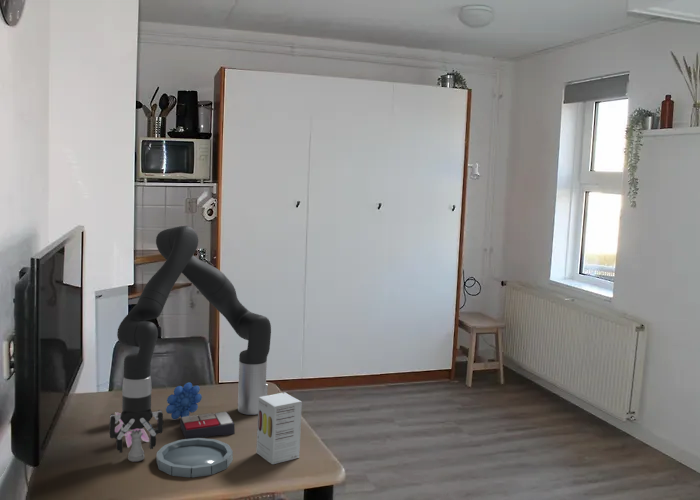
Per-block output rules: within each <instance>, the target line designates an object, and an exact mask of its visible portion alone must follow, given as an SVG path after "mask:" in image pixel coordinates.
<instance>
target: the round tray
mask: <svg viewBox="0 0 700 500" xmlns="http://www.w3.org/2000/svg"><path fill="white" fill-rule="evenodd" d="M233 456H234V451H233V449H232V447H231V446H230V444H228V443H226V442H224V441H221V440H218V439H215V438H214V439H213V438H207V437H202V438H192V439H185V438H184V439H183V438H182V439H178V440H174V441H172V442H169V443H166V444H164V445H162V447H161V448H160V449H159V450H158V451H157V452H156V465H157V468H158V470H159V471H161V472H163V473H165V474H168V475H170V476H173V477H179V478H180V477H183V478H199V477H206V476H212V475H214V474H215V475H216V474H217V473H220V472H222V471H225V470H227V469H228V468H229V466H231V464H232V462H233V461H234V460H233Z"/></svg>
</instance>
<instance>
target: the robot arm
mask: <svg viewBox="0 0 700 500" xmlns="http://www.w3.org/2000/svg"><path fill="white" fill-rule="evenodd" d="M155 237H156V238H155V244H156V247H157V251H158V252H159V254H160V255H161V257H163V258H164V259H165V262H164V263H163V264H162V266H161V267H160V268H159V269H158V270H157V271H156V272H155V273H154V274H153V275H152V277H151V278H150V279H149V280H148V281H147V282H146V283H145V285H144V288H143V290H142V292H141V294H140V296H139V298H138V300H137V303H136V304H135V305H134V306H133V308H131V310H130V311H129V312H128V313H127V314H126V315H125V317H124V318H123V319H122V321H121V322H120V324H119V326H118V328H117V332H116V335H117V336H116V337H117V341H118V342H119V343H120V344H121V345H124V346H130V347H139V350H138V352H137V353H135V352H134V353H131V354H127V355H126V356H125V357H124V360H123V380H122V391H121V392H122V394H121V395H122V402H121V403H122V405H121V409H122V410H121V412H120V413H121V415H116V414H115V413H111V414H110V415H109V431H108V432H109V437H110V439H115V440H116V450H117V451H118V452H119V453H120V454H121V453H123V437H124V436H123V435H124V434H125V433H126V432H127V431H128V429H131V430H134V429H146V430H147V432H149V448H150V450H153V449H154V448H155V447H156V445H157V435H158V434H162V433H163V432H164V429H163V427H164V423H163V422H164V418H163V417H164V416H163V415H164V413H163V411H162V409H158V410H156V411H152V390H153V389H152V379H151V377H152V376H151V370H152V369H151V368H152V365H151V363H152V359H153V355H154V351H155V347H156V345H157V342H158V341H157V340H158V337H159V331H158V328H157V325H156V324H155V323H154V322H152V321H149V320H155V319H158V318H159V317H160V315H161V314H162V312H163V310H164V308H165V305H166V302H167V300H168V298H169V296H170V294H171V292H172V289H173V288H174V286H175V284H176V282H177V281H178V279H179V278H180V276H181V274H182V275H183V276H184V277H185V278H186V279H187V280H189V282H190V283H191V284H192V285H193V286H194V287H195V288H196V289H197V290H198V291H199V292H200V294H201V295H203V297H204V298H205V299H206V300H207V301H208V302H209V303H210V304H211V305H212V306H213V307H214V308H215V309H216V310H217V312H219V313H220V314H221V315H222V316H223V317H224V318H225V319H226V321H227V322H228V323H229V325H230V326H231V327H232V329H233V330H234V333H236V335H238V336H239V337H240V338H241V339H244V340H247V348H246V349H245V350H242V351H240V353H239V355H238V356H239V360H238V362H239V363H238V387H237V391H238V392H237V393H238V394H237V396H238V397H237V412H238V413H240V414H244V415H249V416H251V415H253V416H254V415H255V416H256V415H258V401H259V397H262V396H267V395H268V387H269V386H268V383H267V368H268V367H267V366H268V363H267V361H268V356H269V353H270V348H271V338H272V325H271V324H272V323H271V321H270V320H269V318H268V317H267V316H264V315H261V314H258V313H255V312H252V311H250V310H248V309H247V307H245V305H243V304H242V302H240V300H239V298H238V296H237V292H236V288H235V287H234V285H233V283H232V282H231V280H230V279H229V278H228V277H227V276H226V275H225V274H224V273H223V272H222V271H221V270H220V269H218V268H217V267H215V266H213V265H211V264H209V263H208V262H205V261H203V260H201V259H199V258H198V257H196V256H195V255H194V254H195V253H196V251H197V249H198V246H199V237H198V233H197V232H196V230H195V229H194V228H193V227H192V226H190V225H180V226H175V227H171V228H166V229H163V230H161V231H160V232H158V234H157V235H156V236H155ZM153 417H154V420H157V421H156V422H157V424H156V425H157V426H156V428H154V427H153V425H152V424H151V423H150V421H151V420H152V418H153ZM119 419H121V420H122V422H123V425H122V426H121V428H120V430H119V431H118V432H115V427H116V425H117V424H119Z"/></svg>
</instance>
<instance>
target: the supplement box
mask: <svg viewBox="0 0 700 500" xmlns="http://www.w3.org/2000/svg"><path fill="white" fill-rule="evenodd" d="M302 403H303V401H301V400H299V399H298V398H296V397H294V396H292V395H290V394H288V393H287V392H285V391H284V392H279V393H274V394H267V396H262V397H259V401H258V414H257V429H256V430H257V433H256V450H255V451H256V452H255V453H256V454H257V455H259V456H260V457H261V458H262V459H264V460H265V461H266V462H268V463H269V464H271V465H275V464H276V465H277V464H279V463H280V464H281V463H283V462H287V461H292V460H295V459H299V458H300V450H301V430H302V429H301V426H302V410H303V404H302Z"/></svg>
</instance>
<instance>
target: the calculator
mask: <svg viewBox="0 0 700 500" xmlns="http://www.w3.org/2000/svg"><path fill="white" fill-rule="evenodd" d="M179 423H180V424H179V425H180V426H179V427H180V429H181V431H182V435H183V437H184V439H192V438H208V437H216V436H230V435H235V434H236V432H235V431H236V429H235V423H234V420H233V419H232V418H231V416H230V413H229V412H228V411H220V412H209V413H202V414H198V415H197V414H194V415H193V414H192V415H189V416H186V417H182V418H181V417H180V418H179Z"/></svg>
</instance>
